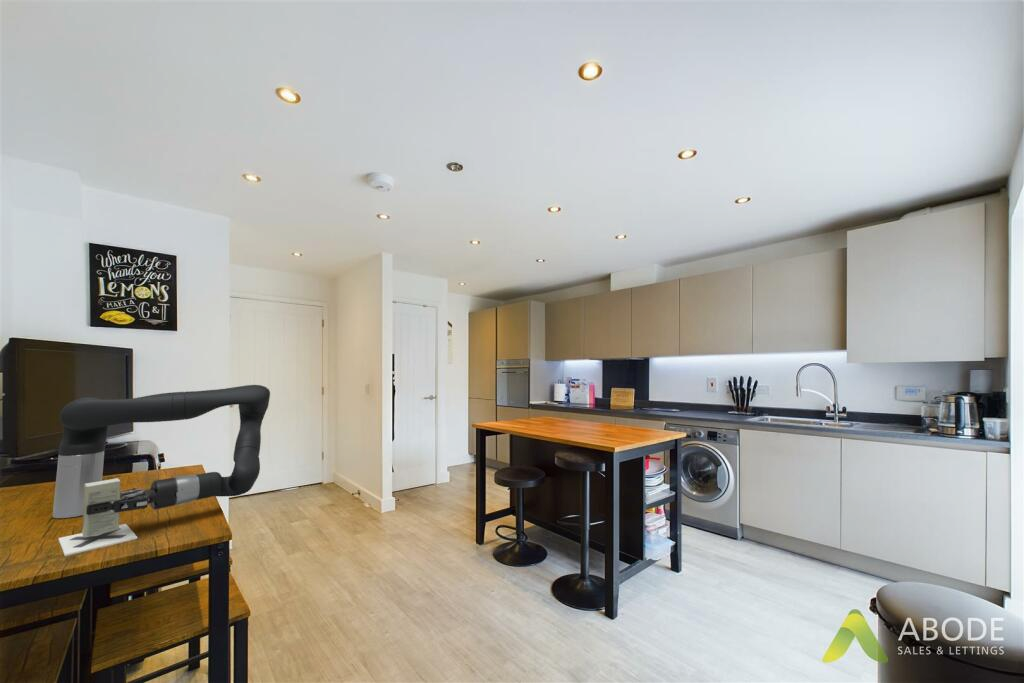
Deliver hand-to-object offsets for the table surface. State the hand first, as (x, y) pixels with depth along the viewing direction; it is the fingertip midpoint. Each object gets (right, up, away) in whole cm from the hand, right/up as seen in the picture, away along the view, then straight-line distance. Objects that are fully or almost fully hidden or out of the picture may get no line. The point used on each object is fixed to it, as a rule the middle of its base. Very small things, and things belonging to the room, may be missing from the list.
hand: (85, 508), depth 96 cm
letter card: (+1, -8, +1) cm, 9 cm away
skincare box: (+2, -7, +2) cm, 7 cm away
